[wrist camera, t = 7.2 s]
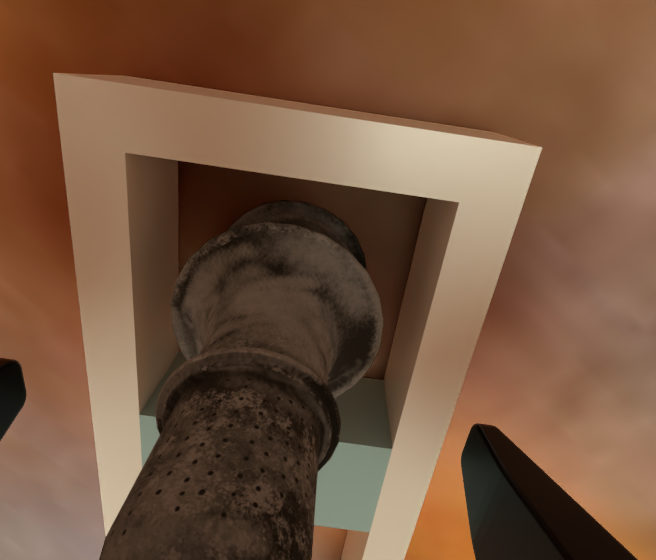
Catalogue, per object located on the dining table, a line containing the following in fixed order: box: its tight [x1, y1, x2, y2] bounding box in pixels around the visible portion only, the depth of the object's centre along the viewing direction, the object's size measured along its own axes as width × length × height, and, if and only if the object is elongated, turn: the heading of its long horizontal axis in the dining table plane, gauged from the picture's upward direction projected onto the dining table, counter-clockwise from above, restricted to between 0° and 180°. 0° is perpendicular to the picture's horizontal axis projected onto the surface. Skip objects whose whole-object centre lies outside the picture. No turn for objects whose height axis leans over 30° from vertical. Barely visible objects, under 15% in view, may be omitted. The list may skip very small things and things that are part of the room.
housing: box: [53, 73, 542, 560], centre depth 16 cm, size 23×11×4 cm, turn 172°
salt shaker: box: [99, 201, 384, 560], centre depth 10 cm, size 6×6×12 cm
